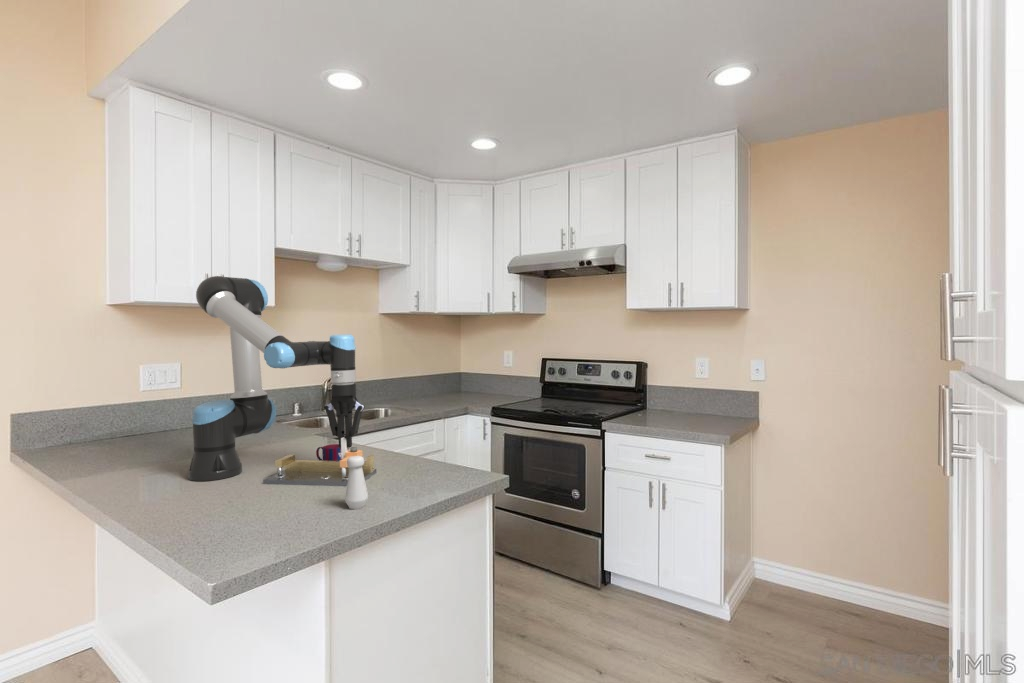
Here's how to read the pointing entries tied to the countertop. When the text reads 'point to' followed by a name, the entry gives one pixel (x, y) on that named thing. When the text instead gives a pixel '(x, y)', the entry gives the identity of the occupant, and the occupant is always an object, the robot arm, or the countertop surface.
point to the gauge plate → (312, 478)
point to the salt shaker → (356, 483)
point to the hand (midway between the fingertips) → (345, 457)
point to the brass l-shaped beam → (318, 465)
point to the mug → (330, 453)
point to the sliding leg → (348, 454)
